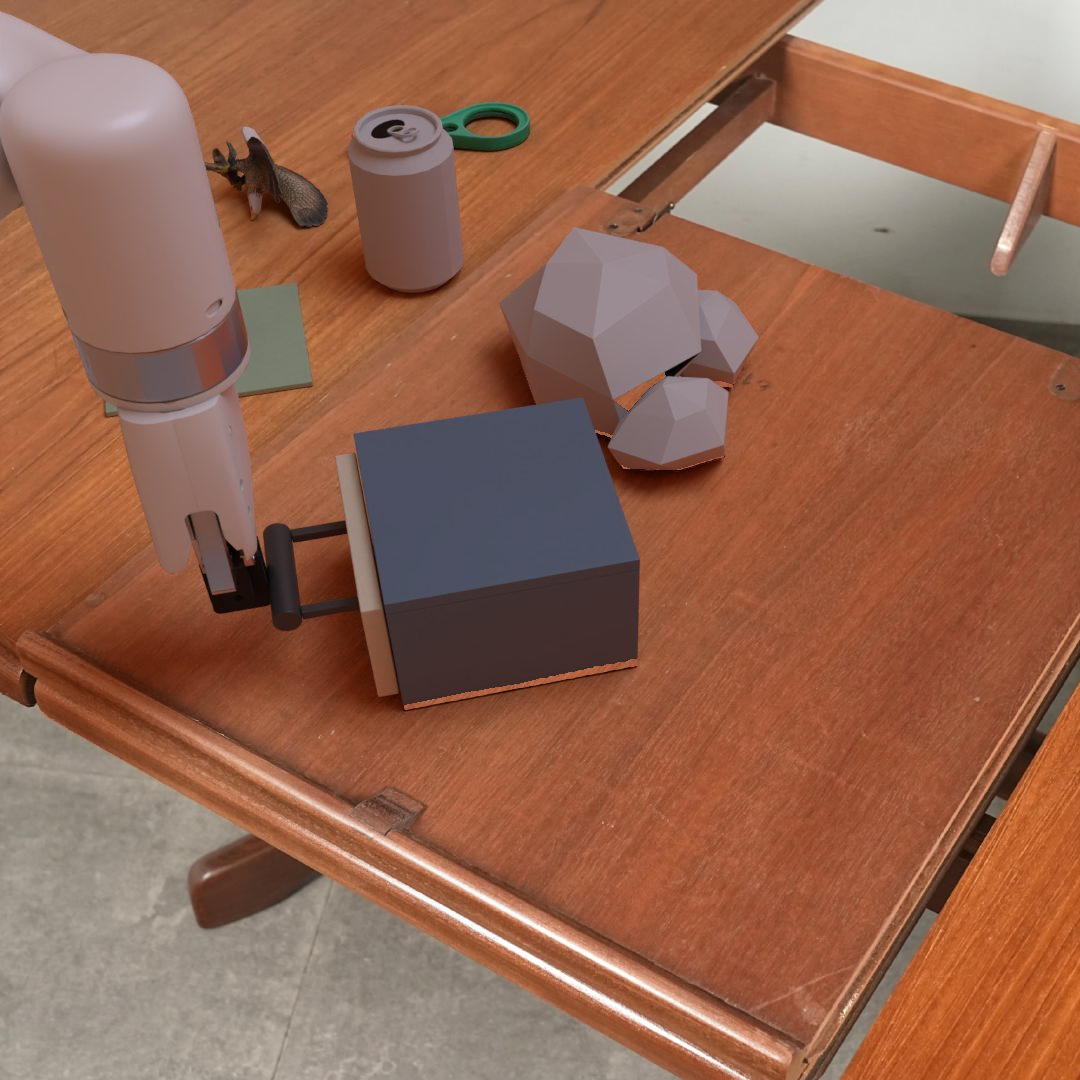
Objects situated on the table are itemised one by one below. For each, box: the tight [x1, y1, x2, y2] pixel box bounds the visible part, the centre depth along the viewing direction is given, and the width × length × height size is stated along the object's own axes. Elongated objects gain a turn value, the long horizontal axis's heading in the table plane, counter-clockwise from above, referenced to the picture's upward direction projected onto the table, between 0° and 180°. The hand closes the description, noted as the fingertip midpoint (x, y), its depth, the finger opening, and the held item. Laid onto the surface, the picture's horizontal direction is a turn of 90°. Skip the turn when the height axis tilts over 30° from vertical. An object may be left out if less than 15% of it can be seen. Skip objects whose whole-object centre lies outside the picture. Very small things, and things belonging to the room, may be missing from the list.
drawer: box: [262, 452, 400, 698], centre depth 79 cm, size 17×12×7 cm
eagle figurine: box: [204, 126, 329, 228], centre depth 108 cm, size 8×7×9 cm
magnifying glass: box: [350, 101, 531, 152], centre depth 117 cm, size 15×6×2 cm, turn 108°
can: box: [347, 104, 465, 294], centre depth 101 cm, size 8×8×12 cm
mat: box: [104, 282, 314, 418], centre depth 99 cm, size 14×12×1 cm
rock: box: [498, 226, 760, 471], centre depth 92 cm, size 18×20×10 cm
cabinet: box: [352, 398, 641, 706], centre depth 79 cm, size 14×14×9 cm
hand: (243, 599), depth 77 cm, fingers closed
